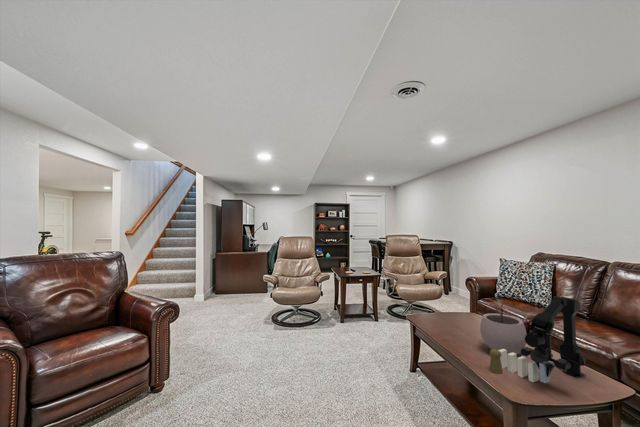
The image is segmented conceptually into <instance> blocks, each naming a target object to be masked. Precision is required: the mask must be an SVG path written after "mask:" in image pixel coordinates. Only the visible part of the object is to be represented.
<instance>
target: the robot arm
mask: <svg viewBox="0 0 640 427" xmlns="http://www.w3.org/2000/svg"><path fill="white" fill-rule="evenodd" d="M580 308H581V303H580V302H579V301H578V299H576V298H571V297H564V296H555V295H554V296H552V300H551V302H550V303H549V304H548V305H547V307H546V308H545V309H544V310H543V312H539V313H537V314H536V315H535V316H534V317H533V318H532V320H531V322H530V326H529V328H528V330H529V332H528V334H527V335H526V336H525V342H526V344H527V346H525V348H522V349H521V352H520V354H521V356H524V357H528V356H530V359H531V361H535V362H536V364H537V366H538V371H540V367H539V363H543V362H544V361H545V362H548V363H547V364H545V365H546V367H547V369H546V374H547V377H549V375H550V376H551V373H552V371H553V369H554V368H557V369H559V370H562V372H563V373H565V374H568V375H570V376H573V377H576V378H580V377H583V376H584V375H585V374H584V373H583V372H582V371H581V367H582V366H583V367H585V366H586V358H585V357H584V356H583V354H582V350H581V348H580V347H579V345H578V344H577V333H576V331H577V330H576V328H577V327H576V315H577V313H579V312H580ZM560 312H561V313H562V324H563V326H562V327H563V342H562V343H561V344H559V350H558V351H559V352H558V353H559V356H560V358H557V359H555V358H553V357H554V355H553V353H552V349H553V347H554V346H553V345H552V334H553V329H554V327H555V322H554V320H555V319H556V317H557V316H558V315H559V313H560Z"/></svg>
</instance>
